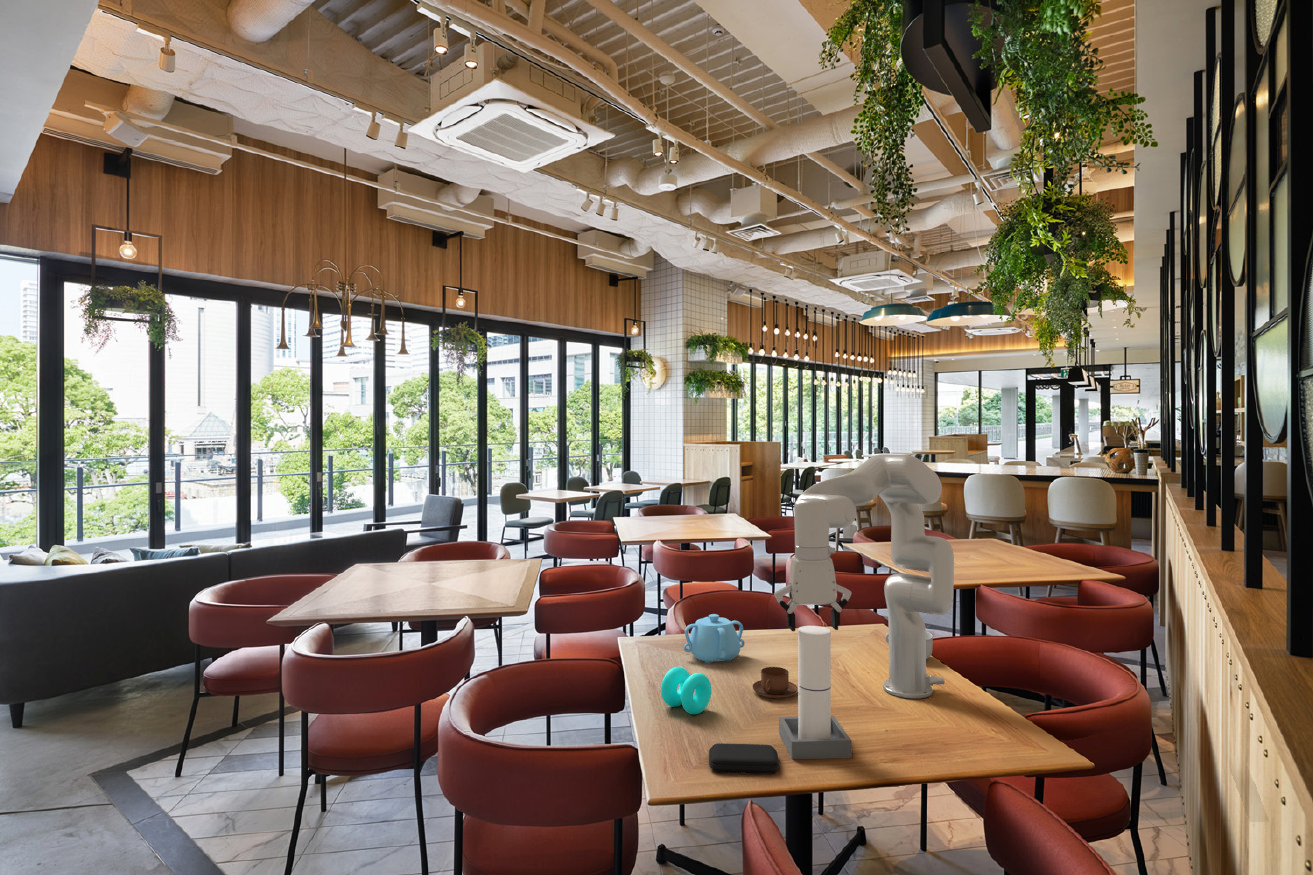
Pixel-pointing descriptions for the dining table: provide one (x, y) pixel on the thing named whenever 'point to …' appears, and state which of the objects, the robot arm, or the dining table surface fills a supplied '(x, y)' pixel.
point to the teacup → (928, 643)
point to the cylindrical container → (814, 682)
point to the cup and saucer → (774, 683)
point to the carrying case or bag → (743, 758)
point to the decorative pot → (714, 639)
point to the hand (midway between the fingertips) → (813, 628)
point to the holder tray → (814, 741)
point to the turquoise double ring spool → (686, 690)
